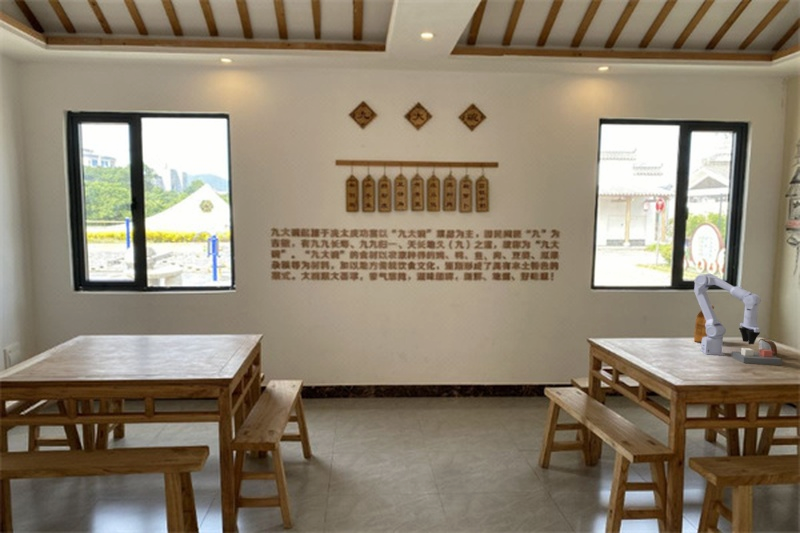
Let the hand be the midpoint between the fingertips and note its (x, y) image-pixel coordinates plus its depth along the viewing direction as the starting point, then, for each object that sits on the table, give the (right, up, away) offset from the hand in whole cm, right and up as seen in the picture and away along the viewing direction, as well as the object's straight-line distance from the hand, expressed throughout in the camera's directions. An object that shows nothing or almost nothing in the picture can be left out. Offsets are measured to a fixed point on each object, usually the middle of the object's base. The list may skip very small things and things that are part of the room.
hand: (748, 342), depth 266 cm
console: (+4, -10, 0) cm, 10 cm away
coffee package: (+2, -6, +40) cm, 40 cm away
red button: (+9, -7, -1) cm, 11 cm away
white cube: (0, -7, +1) cm, 7 cm away
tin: (+19, -9, +13) cm, 25 cm away
